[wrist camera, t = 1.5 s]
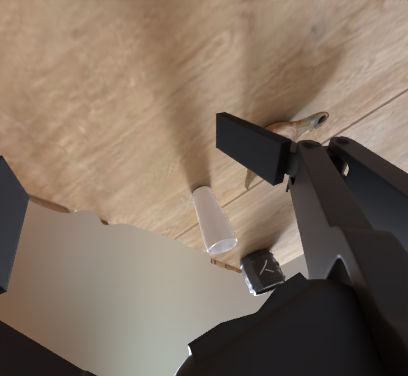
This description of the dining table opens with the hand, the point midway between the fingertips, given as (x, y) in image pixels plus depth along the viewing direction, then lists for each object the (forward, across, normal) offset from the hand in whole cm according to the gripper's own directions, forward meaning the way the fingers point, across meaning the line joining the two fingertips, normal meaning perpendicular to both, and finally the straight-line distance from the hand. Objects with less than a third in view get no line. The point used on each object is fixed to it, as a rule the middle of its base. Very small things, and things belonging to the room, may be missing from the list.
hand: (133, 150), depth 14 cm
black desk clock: (+33, +50, -84) cm, 103 cm away
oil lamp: (+17, +31, -10) cm, 37 cm away
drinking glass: (+24, +17, -25) cm, 38 cm away
